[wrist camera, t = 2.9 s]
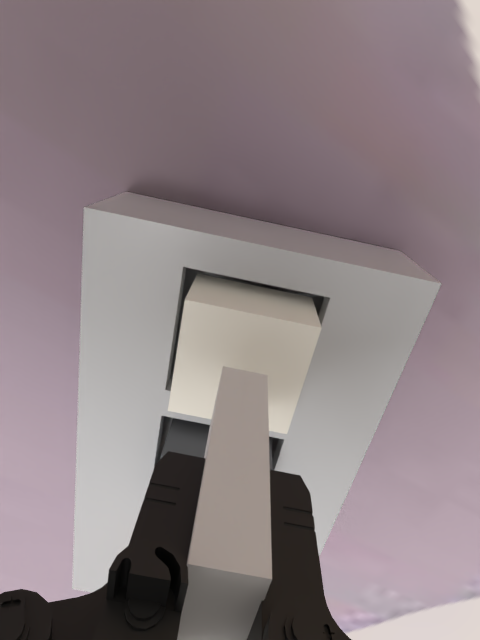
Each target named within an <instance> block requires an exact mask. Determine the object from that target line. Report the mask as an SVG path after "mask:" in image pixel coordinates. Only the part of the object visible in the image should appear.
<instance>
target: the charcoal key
mask: <svg viewBox="0 0 480 640" xmlns="http://www.w3.org/2000/svg"><path fill="white" fill-rule="evenodd" d="M209 428H210V425H207V424H202V423H197V422H192V421H187V420H182V419H177V418H173V420H172V423H171V426H170V429H169V432H168V435H167V438H166V441H165V444H164V448H163V451H162V454H161V458H162V457H163V456H164V455H165V454H166V453H167V452H168V451H170V452H175V453H181V454H186V455H191V456H196V457H201V458H204V455H205V449H206V444H207V439H208V433H209ZM161 458H160V459H161ZM269 462H270V470H273V466H272V437H269Z"/></svg>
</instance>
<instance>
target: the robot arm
mask: <svg viewBox="0 0 480 640" xmlns="http://www.w3.org/2000/svg"><path fill="white" fill-rule="evenodd" d="M312 513H313V510H312V502H311V495H310V492H309V490H308V488H307V486H306V485H305V483H304V481H303V479H302V477H301V476H300V475H296V474H290V473H285V472H280V471H275V470H270V462H269V417H268V375H264V374H259V373H254V372H249V371H245V370H240V369H235V368H230V367H225V366H223V368H222V372H221V377H220V382H219V386H218V391H217V396H216V400H215V405H214V410H213V414H212V419H211V423H210V428H209V433H208V439H207V444H206V449H205V455H204V458H201V457H196V456H191V455H186V454H181V453H175V452H170V451H168V452H167V453H166V454H165V455H164V456H163V457H162V458H161V459H160V460H159V461H158V462H157V463H156V464H155V467H154V470H153V473H152V476H151V479H150V482H149V486H148V488H147V491H146V494H145V497H144V501H143V503H142V506H141V509H140V512H139V515H138V518H137V521H136V524H135V527H134V530H133V533H132V536H131V539H130V542H129V545H128V546H127V547H126V548H125V549H124V550H123V551H121V552H120V553H119V554H118V555H117V556H116V558H115V560H114V561H113V563H112V565H111V567H110V568H109V573H108V582H107V583H106V584H105V585H104V586H103V587H101V588H100V589H98V590H96V591H94V592H92V593H90V594H87V595H84V596H80V597H77V598H71V599H66V600H60V601H55V602H49V603H48V602H47V601H46V600H45V599H44V598H43V597H41V596H40V595H39V594H38V593H37V592H32V591H28V590H23V589H20V590H14V591H8V592H4V593H2V594H0V640H351V639H350V638H349V637H348V636H347V635H346V634H345V633H344V632H343V631H342V630H341V629H340V628H339V626H338V625H337V624H336V622H335V621H334V619H333V618H332V616H331V614H330V611H329V609H328V607H327V604H326V600H325V596H324V590H323V583H322V576H321V568H320V561H319V554H318V546H317V539H316V532H315V524H314V517H313V516H312Z"/></svg>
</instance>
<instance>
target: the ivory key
mask: <svg viewBox="0 0 480 640" xmlns="http://www.w3.org/2000/svg"><path fill="white" fill-rule="evenodd" d="M321 329H322V327H321V324H320V321H319V318H318V315H317V312H316V308H315V305H314V302H313V299H312V297H307V296H302V295H298V294H293V293H288V292H283V291H279V290H274V289H269V288H264V287H259V286H255V285H250V284H245V283H240V282H236V281H231V280H226V279H221V278H217V277H212V276H207V275H202V274H198V273H197V275H196V278H195V280H194V282H193V284H192V286H191V288H190V290H189V292H188V294H187V296H186V298H185V301H184V307H183V314H182V320H181V327H180V333H179V340H178V347H177V353H176V360H175V366H174V373H173V379H172V386H171V392H170V399H169V405H168V411H171V412H176V413H181V414H186V415H191V416H196V417H202V418H207V419H212V414H213V410H214V405H215V400H216V396H217V391H218V386H219V382H220V377H221V372H222V368H223V366H225V367H230V368H235V369H240V370H245V371H249V372H254V373H259V374H264V375H268V417H269V431H273V432H278V433H283V434H287V433H288V430H289V427H290V424H291V421H292V417H293V414H294V411H295V408H296V405H297V402H298V399H299V396H300V393H301V390H302V387H303V384H304V381H305V378H306V375H307V372H308V368H309V365H310V362H311V359H312V356H313V353H314V350H315V347H316V344H317V341H318V338H319V335H320V332H321Z"/></svg>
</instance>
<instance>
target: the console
mask: <svg viewBox="0 0 480 640" xmlns="http://www.w3.org/2000/svg"><path fill="white" fill-rule="evenodd" d="M197 273H198V274H202V275H207V276H212V277H217V278H221V279H226V280H231V281H236V282H240V283H245V284H250V285H255V286H259V287H264V288H269V289H274V290H279V291H283V292H288V293H293V294H298V295H302V296H307V297H312V299H313V302H314V305H315V308H316V312H317V315H318V318H319V321H320V324H321V327H322V329H321V332H320V335H319V338H318V341H317V344H316V347H315V350H314V353H313V356H312V359H311V362H310V365H309V368H308V372H307V375H306V378H305V381H304V384H303V387H302V390H301V393H300V396H299V399H298V402H297V405H296V408H295V411H294V414H293V417H292V421H291V424H290V427H289V430H288V433H287V434H283V433H278V432H273V431H269V437H272V466H273V470H275V471H280V472H285V473H290V474H296V475H300V476H301V477H302V479H303V481H304V483H305V485H306V486H307V488H308V490H309V492H310V495H311V502H312V510H313V513H312V516H313V517H314V524H315V532H316V539H317V546H318V554H319V556H320V554H321V552H322V549H323V547H324V545H325V543H326V540H327V538H328V536H329V534H330V531H331V529H332V527H333V525H334V523H335V520H336V518H337V516H338V514H339V511H340V509H341V507H342V505H343V503H344V500H345V498H346V496H347V494H348V491H349V489H350V487H351V485H352V482H353V480H354V478H355V476H356V474H357V471H358V469H359V467H360V465H361V462H362V460H363V458H364V456H365V454H366V451H367V449H368V447H369V445H370V442H371V440H372V438H373V436H374V433H375V431H376V429H377V427H378V425H379V422H380V420H381V418H382V416H383V413H384V411H385V409H386V407H387V404H388V402H389V400H390V398H391V396H392V393H393V391H394V389H395V387H396V384H397V382H398V380H399V378H400V376H401V373H402V371H403V369H404V367H405V364H406V362H407V360H408V358H409V355H410V353H411V351H412V349H413V347H414V344H415V342H416V340H417V338H418V335H419V333H420V331H421V329H422V327H423V324H424V322H425V320H426V318H427V315H428V313H429V311H430V309H431V306H432V304H433V302H434V300H435V298H436V295H437V293H438V291H439V289H440V286H441V284H442V283H440V282H439V281H438V280H437V279H435V278H434V277H433V276H431V275H430V274H429V273H428V272H426V271H425V270H424V269H423V268H421V267H420V266H419V265H418V264H416V263H415V262H414V261H412V260H411V259H410V258H409V257H407V256H406V255H405V254H404V253H402V252H401V251H399V250H394V249H389V248H385V247H380V246H375V245H371V244H366V243H362V242H357V241H352V240H348V239H343V238H338V237H334V236H329V235H325V234H320V233H315V232H311V231H306V230H301V229H297V228H292V227H288V226H283V225H278V224H274V223H269V222H264V221H260V220H255V219H251V218H246V217H241V216H237V215H232V214H227V213H223V212H218V211H214V210H209V209H204V208H200V207H195V206H191V205H186V204H181V203H177V202H172V201H167V200H163V199H158V198H154V197H149V196H144V195H140V194H135V193H130V192H124V193H121V194H118V195H115V196H113V197H110V198H107V199H104V200H102V201H99V202H96V203H93V204H91V205H88V206H85V207H84V216H83V249H82V282H81V315H80V348H79V381H78V414H77V447H76V480H75V513H74V546H73V579H72V589H75V590H80V591H86V592H94V591H96V590H98V589H100V588H101V587H103V586H104V585H105V584H106V583H107V582H108V573H109V568H110V567H111V565H112V563H113V561H114V560H115V558H116V556H117V555H118V554H119V553H120V552H121V551H123V550H124V549H125V548H126V547H127V546H128V545H129V542H130V539H131V536H132V533H133V530H134V527H135V524H136V521H137V518H138V515H139V512H140V509H141V506H142V503H143V501H144V497H145V494H146V491H147V488H148V486H149V482H150V479H151V476H152V473H153V470H154V467H155V464H156V463H157V462H158V461H159V460H160V458H161V454H162V451H163V448H164V444H165V441H166V438H167V435H168V432H169V429H170V426H171V423H172V420H173V418H177V419H182V420H187V421H192V422H197V423H202V424H207V425H210V423H211V419H207V418H202V417H196V416H191V415H186V414H181V413H176V412H171V411H168V405H169V399H170V392H171V386H172V379H173V373H174V366H175V360H176V353H177V347H178V340H179V333H180V327H181V320H182V314H183V307H184V301H185V298H186V296H187V294H188V292H189V290H190V288H191V286H192V284H193V282H194V280H195V278H196V275H197Z"/></svg>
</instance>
